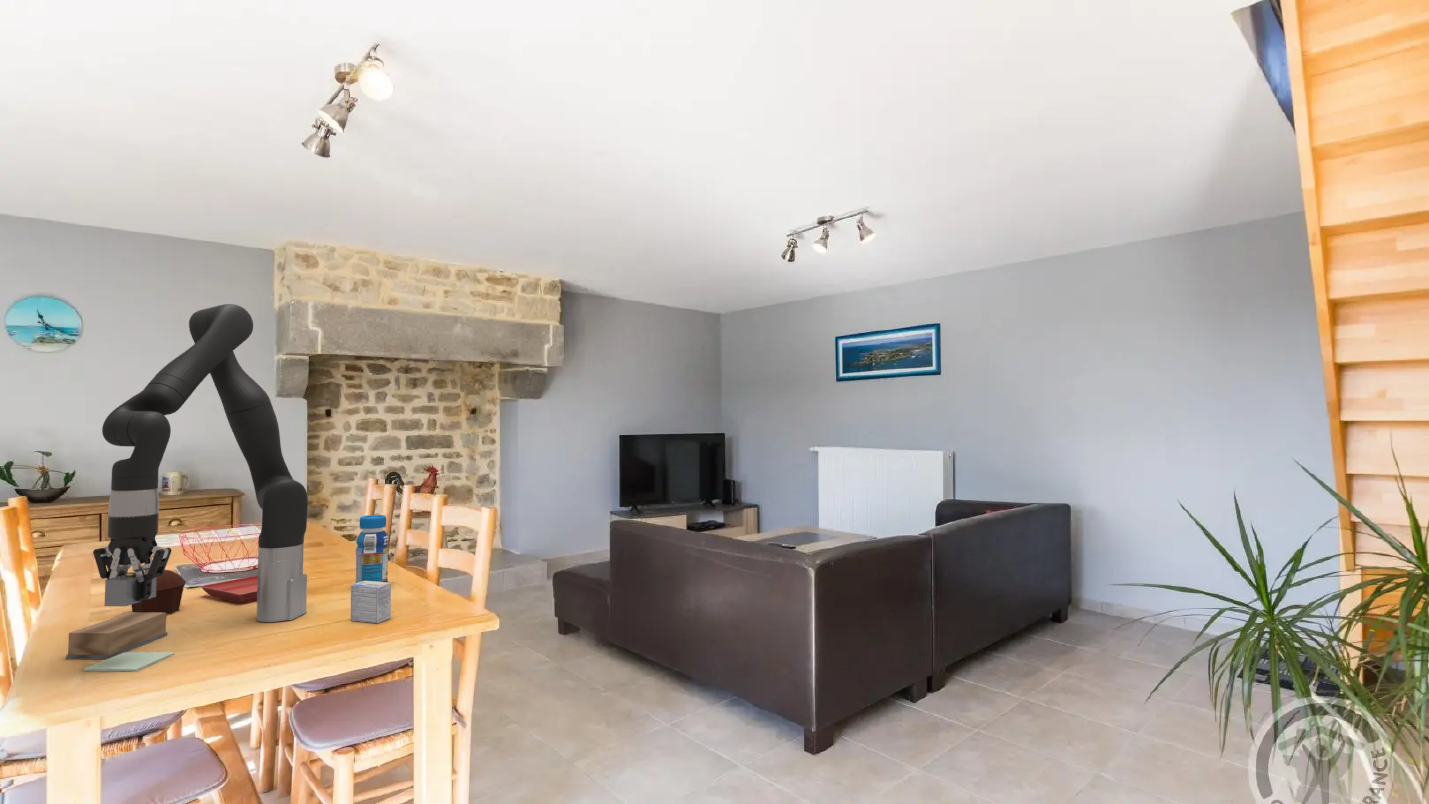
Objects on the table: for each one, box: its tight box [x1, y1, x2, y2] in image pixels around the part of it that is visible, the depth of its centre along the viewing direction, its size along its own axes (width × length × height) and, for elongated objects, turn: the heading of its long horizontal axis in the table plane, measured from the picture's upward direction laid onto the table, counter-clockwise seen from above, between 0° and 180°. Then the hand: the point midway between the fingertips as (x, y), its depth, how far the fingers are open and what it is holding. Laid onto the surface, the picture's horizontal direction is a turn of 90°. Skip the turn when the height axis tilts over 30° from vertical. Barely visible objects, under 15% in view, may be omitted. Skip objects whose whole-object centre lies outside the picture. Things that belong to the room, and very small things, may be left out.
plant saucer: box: [200, 574, 309, 604], centre depth 182 cm, size 18×18×3 cm
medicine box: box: [350, 581, 392, 624], centre depth 160 cm, size 8×4×9 cm, turn 74°
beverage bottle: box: [355, 514, 390, 583], centre depth 190 cm, size 8×8×20 cm
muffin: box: [130, 569, 187, 616], centre depth 164 cm, size 12×11×10 cm
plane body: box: [65, 611, 168, 660], centre depth 140 cm, size 8×14×5 cm, turn 0°
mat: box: [82, 651, 175, 672], centre depth 131 cm, size 10×9×1 cm
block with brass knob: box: [104, 571, 157, 607], centre depth 132 cm, size 4×7×6 cm, turn 0°
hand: (130, 599), depth 132 cm, fingers closed on block with brass knob, 4 cm apart
